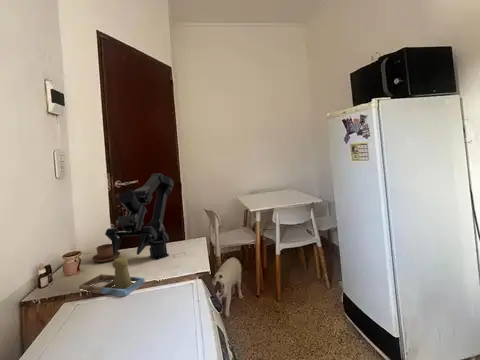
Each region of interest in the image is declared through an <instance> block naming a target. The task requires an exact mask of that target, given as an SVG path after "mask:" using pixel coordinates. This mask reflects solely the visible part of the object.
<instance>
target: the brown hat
mask: <svg viewBox="0 0 480 360" xmlns="http://www.w3.org/2000/svg"><path fill="white" fill-rule="evenodd" d="M120 255H121V252H120V251H118V252H117V254H116V255H115V256H114V255H113V246H112V243H107V244H106V243H105V244H101V245H98V246H97V247H96V254H95V255H93V257H92V258H91V259H92V260H93V261H94V262H96V263H103V262H104V263H105V262H109V261H112V260H113V261H114V260H115V259H116V258H119V257H120Z"/></svg>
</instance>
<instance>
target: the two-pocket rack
mask: <svg viewBox="0 0 480 360" xmlns="http://www.w3.org/2000/svg"><path fill="white" fill-rule="evenodd" d="M130 278H131V281H136V282H135V283H132V285H130V286H129V287H127V288H126V289H115V287H113V288H111V287H112V286H114V285H115V274H101V273H99V274H98V275H97V276H95V277H94V278H93V277H92V278H91V279H90V280H88V281H86V282H84V283H82V284H80V285H78V288H79V289H78V290H80V289H83V290H87V291H90V292H89V293H91V292H92V293H93V294H99V295H100V294H102V295H108V296H110V295H111V296H120V297H127V296H128V295H130V294H131V293H133V292H134V291H135V290H137V289H138V288H140V287H141V286H143V285H144V284H145V283H146V279H145V277H140V276H139V277H138V276H130ZM100 280H101V281H106V280H113V281H109V282H108V283H106V284H104V286H94V285H95V284H94V283H96V282H98V281H99V282H101V281H100ZM99 282H98V283H99ZM144 282H145V283H144ZM143 283H144V284H143ZM92 284H94V285H92ZM96 284H97V283H96ZM142 284H143V285H142ZM90 285H92V286H90Z"/></svg>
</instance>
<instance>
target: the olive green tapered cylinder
mask: <svg viewBox="0 0 480 360" xmlns="http://www.w3.org/2000/svg"><path fill="white" fill-rule="evenodd" d="M128 265H129V260H128V258H127V257H124V256H118V257H117V258H115V259H113V261H112V266H113V268H114V275H115V287H114V288H115V289H126V288H127V287H129V286H130V285H132V284H133V283H132V282H131V278H130V277H131V276H130V271H129V267H128Z"/></svg>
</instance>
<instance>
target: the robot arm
mask: <svg viewBox="0 0 480 360" xmlns="http://www.w3.org/2000/svg"><path fill="white" fill-rule="evenodd" d="M174 185H175V182H174V180H173V179H172V178H171V177H170V176H167V175H164V174H163V173H152V174H151V175H150V177H149V179H148V180H147V181H145V183H144V184H143V186H142V187H138V188H136V189H132V188H131V189H129V188H128V189H126V191H124V192H123V193H121V195H120V196H119V198H118V200H119V202H120V203H121V205H122V206H123V207H124V208H125V209H126V211H127V212H129V213H128V215H122V216H121V215H120V216H118V217H117V226H120V227H121V229H122V230H121V231H120V230H119V228H117V227H112V228H111V227H109V228H107V229H106V231H105V232H104V235H105V236H106V237H107V238H108V239H109V240H110V241H111V244H112V246H113V255H114V256H115V255H116V254H117V252H119V248H120V246H121V244H122V239H123V237H138V236H139V242H138V245H137V249H136V255H137V256H139V255H140V254H141V253H142V252H143V250H144V249H145V248H146V247H147V246H149V258H150V259H151V258H152V259H154V260H160V259H163V258H165V257H169V256H170V253H168V250H167V244H168V243H169V235H168V233H167V232H166V229H165V227H164V224H163V223H164V218H165V217H164V216H165V212H166V207H167V206H166V205H167V201H168V197H169V196H170V195H171V193H173V192H172V191H173V188H174ZM154 192H156V197H155V202H154V207H153V214H152V218H151V221H150V222H147V223H146V225H145V222H144V218H145V215H146V214H148V209H147V208H146V207H147V206H145V205H149V204H150V203H151V202H152V200H153V193H154ZM144 225H145V226H144ZM142 226H143V227H142Z"/></svg>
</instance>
